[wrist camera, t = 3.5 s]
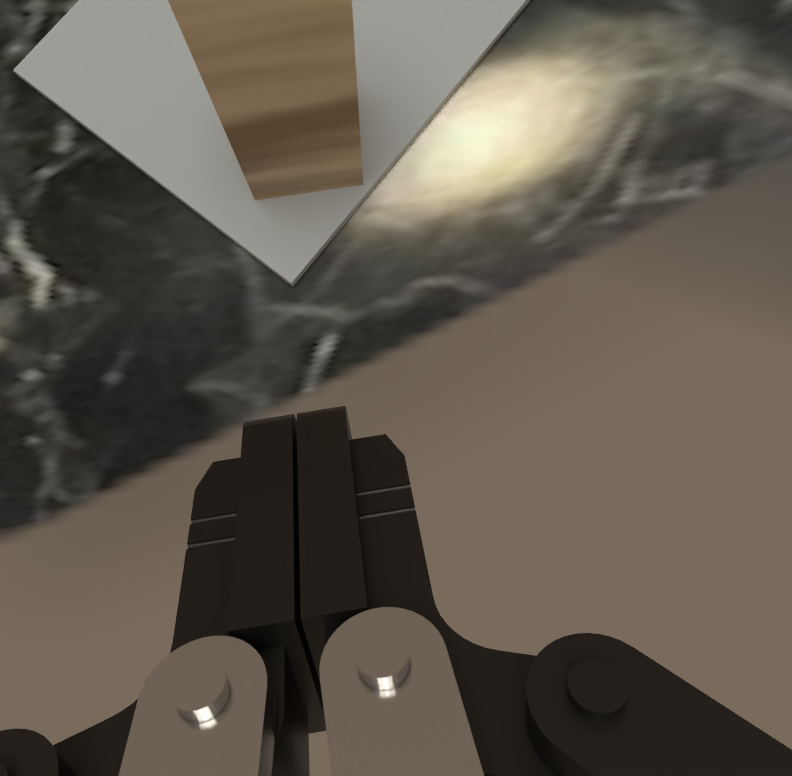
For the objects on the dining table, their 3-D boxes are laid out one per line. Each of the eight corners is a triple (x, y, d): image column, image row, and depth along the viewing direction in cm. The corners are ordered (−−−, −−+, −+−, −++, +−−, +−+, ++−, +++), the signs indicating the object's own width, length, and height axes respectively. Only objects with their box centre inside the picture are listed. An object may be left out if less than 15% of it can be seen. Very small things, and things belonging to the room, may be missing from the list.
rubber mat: (292, 287, 29) (291, 283, 28) (19, 77, 30) (13, 70, 30) (549, -22, 31) (551, -31, 31) (285, -207, 32) (284, -217, 32)
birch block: (363, 184, 29) (345, -94, 15) (254, 200, 29) (138, -67, 15) (347, 85, 30) (316, -269, 16) (240, 100, 30) (117, -245, 16)
